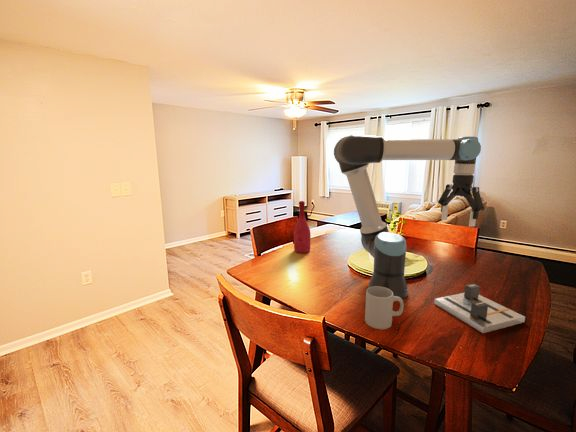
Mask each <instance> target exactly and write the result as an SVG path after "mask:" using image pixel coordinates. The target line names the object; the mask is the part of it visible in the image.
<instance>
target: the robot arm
mask: <svg viewBox="0 0 576 432" xmlns="http://www.w3.org/2000/svg"><path fill="white" fill-rule="evenodd" d="M481 145H482V144H481V143H480V141H479V137H477V136H460V137H458V138H457V139H455V138H454V139H449V138H448V139H447V138H445V139H443V138H442V139H441V138H440V139H439V138H437V139H435V138H433V139H430V138H427V139H426V138H425V139H424V138H423V139H422V138H421V139H420V138H417V139H416V138H408V139H407V138H398V139H397V138H384V137H383V136H381V135H378V136H376V135H366V134H357V133H356V134H350V135H347V136H344V137H342V138H340V139H339V140H338V141H337V142H336V144H335V145H334V148H333V156H334V159H335V161H337V163H338V165H339V166H338V167H339V169H340V172H341V173H342V174H344V175H345V177H346V178H347V182H348V185H349V188H350V191H351V194H352V198H353V201H354V204H355V207H356V210H357V211H356V212H357V213H358V214H357V215H358V217H359V220H360V221H359V222H360V224H361V228H360V230H359V232H360V235H361V237H360V240H361V245H362V247H363V249H364V250H365V251H366V252H368V253H369V255H370V256H371V257H373V272H372V274H371V278H370V280H369V282H368V286H367V287H368V288H369V287H372V286H381V287H385V288H388V289H390V290H391V291H392V292H393V296H398V297H400V298H401V299H402V300H404V299H405V298H407V297H408V294H409V288H408V285H407V284H408V283H407V281H406V277H405V271H406V270H405V267H406V257H407V256H406V253H407V240H406V239H405V237H403V236H402V235H400V234H398V233H395V232H390V231H389V228H388V225H387V223H386V222H384V221H383V220H382V217H381V214H380V211H379V207H378V204H377V200H376V197H375V194H374V190H373V187H372V184H371V180H370V176H369V173H368V169H367V168H368V167H369V164H378V163H379V164H380V163H382V162H383V161H454V166H453V173H454V174H453V175H452V180H451V181H452V183H453V184H451V183H450V184H446V185H445V188H444V191H443V192H442V194H441V196H440V197H439V199H438V201H437V204H439V205H441V209H440V213H441V218H440V220H441V221H446V220H447V219H448V213H449V205H448V204H449V203H450V202H451V201H452V200H453V199H455V197H457V196H458V197H463V198H465V199H466V201H467V203H468V205H469V207H470V208H471V211H470V213H469V221H468V227H475V226H476V222H477V220H478V219H479V213H480V212H482V211H485V205H484V203H483V199H482V197H481V194H480V187H479V186H473V183H474V178H475V176H474V174H475V171H476V163H477V157H478V156H479V155H480V153H481V151H482V146H481ZM472 186H473V187H472ZM368 288H367V289H368Z"/></svg>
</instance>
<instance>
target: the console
mask: <svg viewBox="0 0 576 432" xmlns="http://www.w3.org/2000/svg"><path fill="white" fill-rule="evenodd" d="M433 303H434V305H436V306H437V307H439V308H440V309H442V310H444V311H446V312H447V313H449V314H450V315H452V316H454V317H456V318H457V319H459V320H460V321H462V322H464V323H465V324H467V325H468V326H470V327H472V328H474V329H475V330H477V331H478V332H480V333H481V334H485V333H489V332H493V331H497V330H500V329H505V328H507V327H508V328H509V327H512V326H515V325H518V324H519V325H520V324H522V323H523V324H524V323H525V320H526V316H525V315H522V314H521V313H518V312H516V311H515V310H512V309H510V308H508V307H506V306H504V305H501V304H500V303H497V302H496V301H493V300H491V299H490V298H487V297H484V296H483V295H481V294H479V296H478V298H474V299H468V298H466V297H465V296H464V292H460V293H456V294H452V295H451V294H450V295H446V296H441V297H437V298H434V301H433Z"/></svg>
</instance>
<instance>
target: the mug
mask: <svg viewBox="0 0 576 432" xmlns="http://www.w3.org/2000/svg"><path fill="white" fill-rule="evenodd" d="M394 302H399V309H398V310H396V311H395V310H393V308H394V307H393V305H394ZM404 307H405V306H404V299H401V298H400V297H398V296H393V292H392V291H391V290H390V289H388V288H385V287H381V286H372V287H369V288H366V291H365V313H364V321H365V324H366V325H367V326H369V327H370V328H373V329H376V330H387V329H389V328H391V327H392V323H393V317H398V316H399V317H400V316H401V315H402V313H403V312H404Z"/></svg>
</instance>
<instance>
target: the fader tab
mask: <svg viewBox="0 0 576 432" xmlns="http://www.w3.org/2000/svg"><path fill="white" fill-rule="evenodd" d="M480 288H481V287H480V285H477V284H476V283H469V284H468V283H467V284H465V285H464V292H463V293H464V296H465V297H466V298H468V299H474V298H478V296H479V295H480Z"/></svg>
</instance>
